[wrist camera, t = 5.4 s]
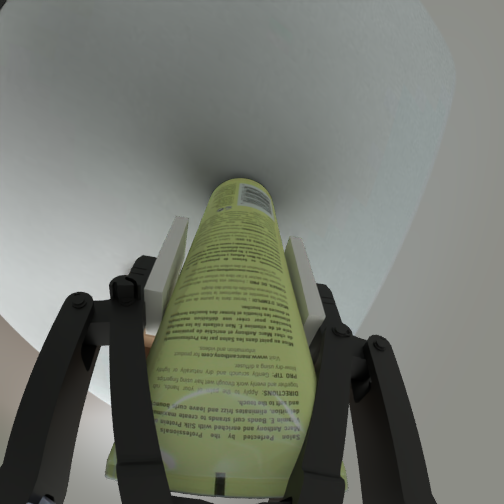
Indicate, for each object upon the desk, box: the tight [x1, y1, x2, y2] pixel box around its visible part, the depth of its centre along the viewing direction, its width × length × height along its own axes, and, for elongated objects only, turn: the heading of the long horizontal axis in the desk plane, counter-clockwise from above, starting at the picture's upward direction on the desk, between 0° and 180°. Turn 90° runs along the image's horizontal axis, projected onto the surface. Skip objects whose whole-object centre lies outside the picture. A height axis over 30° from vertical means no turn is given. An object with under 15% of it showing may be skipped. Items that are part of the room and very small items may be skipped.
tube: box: [105, 178, 348, 499], centre depth 14 cm, size 6×5×20 cm
